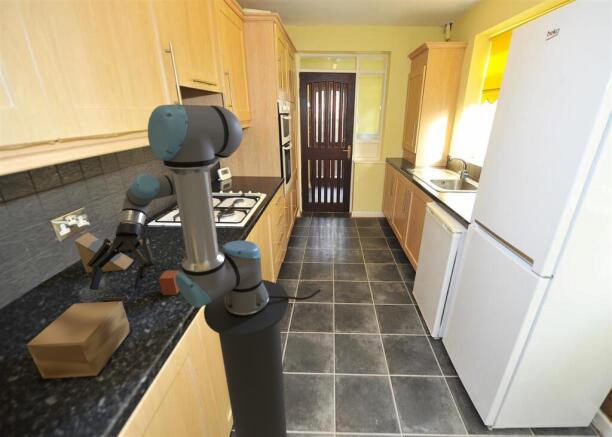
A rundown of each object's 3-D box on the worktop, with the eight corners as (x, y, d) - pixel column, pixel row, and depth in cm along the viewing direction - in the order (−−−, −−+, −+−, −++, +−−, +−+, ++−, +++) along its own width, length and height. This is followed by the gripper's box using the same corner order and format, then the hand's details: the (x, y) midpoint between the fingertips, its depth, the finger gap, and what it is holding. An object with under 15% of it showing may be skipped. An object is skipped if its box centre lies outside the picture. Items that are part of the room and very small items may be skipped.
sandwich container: (125, 270, 112) (115, 237, 107) (85, 273, 110) (73, 240, 105) (134, 260, 120) (126, 229, 115) (97, 262, 118) (87, 231, 113)
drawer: (102, 314, 85) (94, 291, 82) (139, 312, 86) (132, 289, 83) (52, 367, 67) (39, 340, 64) (99, 364, 68) (89, 337, 65)
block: (182, 286, 101) (178, 270, 98) (177, 294, 96) (173, 277, 94) (168, 287, 101) (164, 270, 98) (162, 295, 96) (158, 278, 93)
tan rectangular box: (85, 333, 79) (74, 303, 75) (130, 331, 80) (120, 301, 76) (42, 378, 65) (25, 345, 62) (97, 375, 66) (83, 342, 62)
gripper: (172, 229, 97) (162, 288, 88) (100, 231, 95) (83, 292, 87) (162, 220, 90) (150, 284, 81) (85, 223, 88) (65, 288, 80)
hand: (115, 288), depth 84 cm, fingers open, 13 cm apart
